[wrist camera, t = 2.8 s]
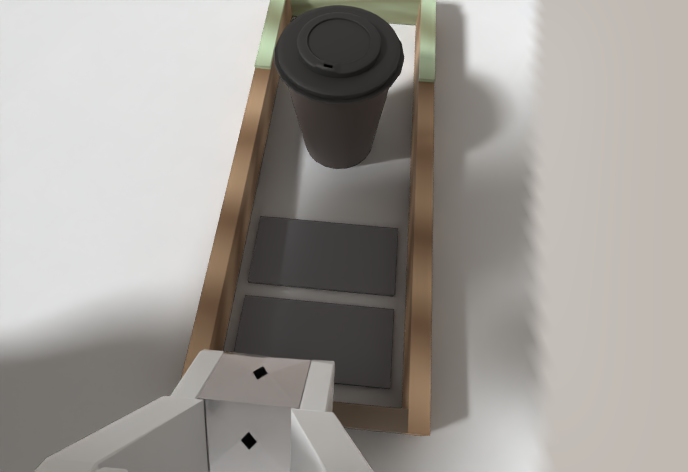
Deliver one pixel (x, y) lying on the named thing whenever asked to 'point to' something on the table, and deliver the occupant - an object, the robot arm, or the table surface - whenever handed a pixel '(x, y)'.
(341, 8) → the coffee cup
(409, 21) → the trap box
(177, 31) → the table surface
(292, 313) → the mats
